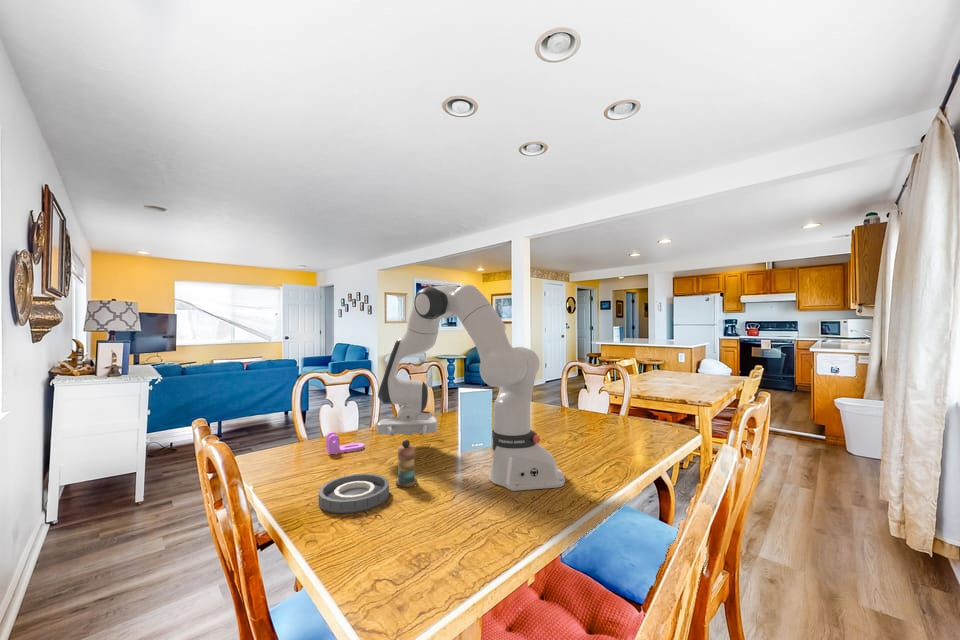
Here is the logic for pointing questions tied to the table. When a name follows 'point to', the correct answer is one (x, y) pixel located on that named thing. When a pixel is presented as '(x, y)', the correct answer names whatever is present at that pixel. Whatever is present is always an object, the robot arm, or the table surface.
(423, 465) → the table surface
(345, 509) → the tray
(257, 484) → the table surface
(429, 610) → the table surface
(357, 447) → the bracket
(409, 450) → the bead stack
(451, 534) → the table surface
